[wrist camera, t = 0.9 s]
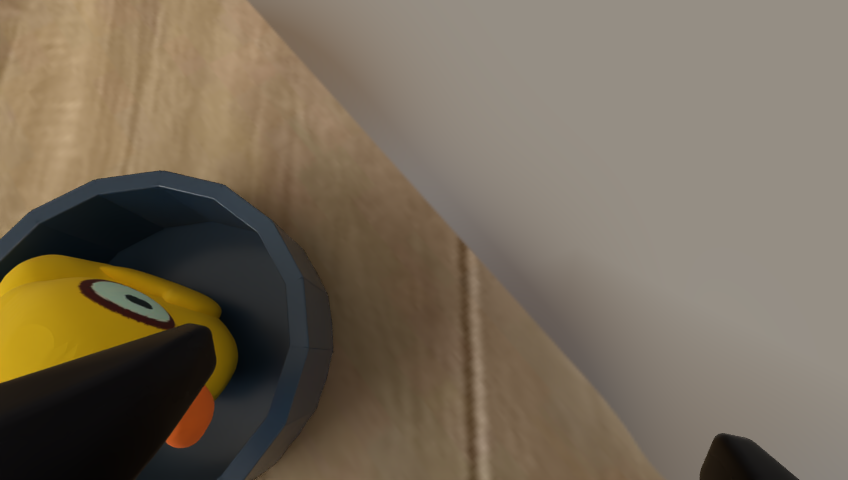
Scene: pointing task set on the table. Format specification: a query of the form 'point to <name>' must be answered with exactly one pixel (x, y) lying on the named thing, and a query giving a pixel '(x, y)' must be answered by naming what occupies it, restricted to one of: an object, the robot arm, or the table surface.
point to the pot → (219, 280)
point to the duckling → (104, 322)
